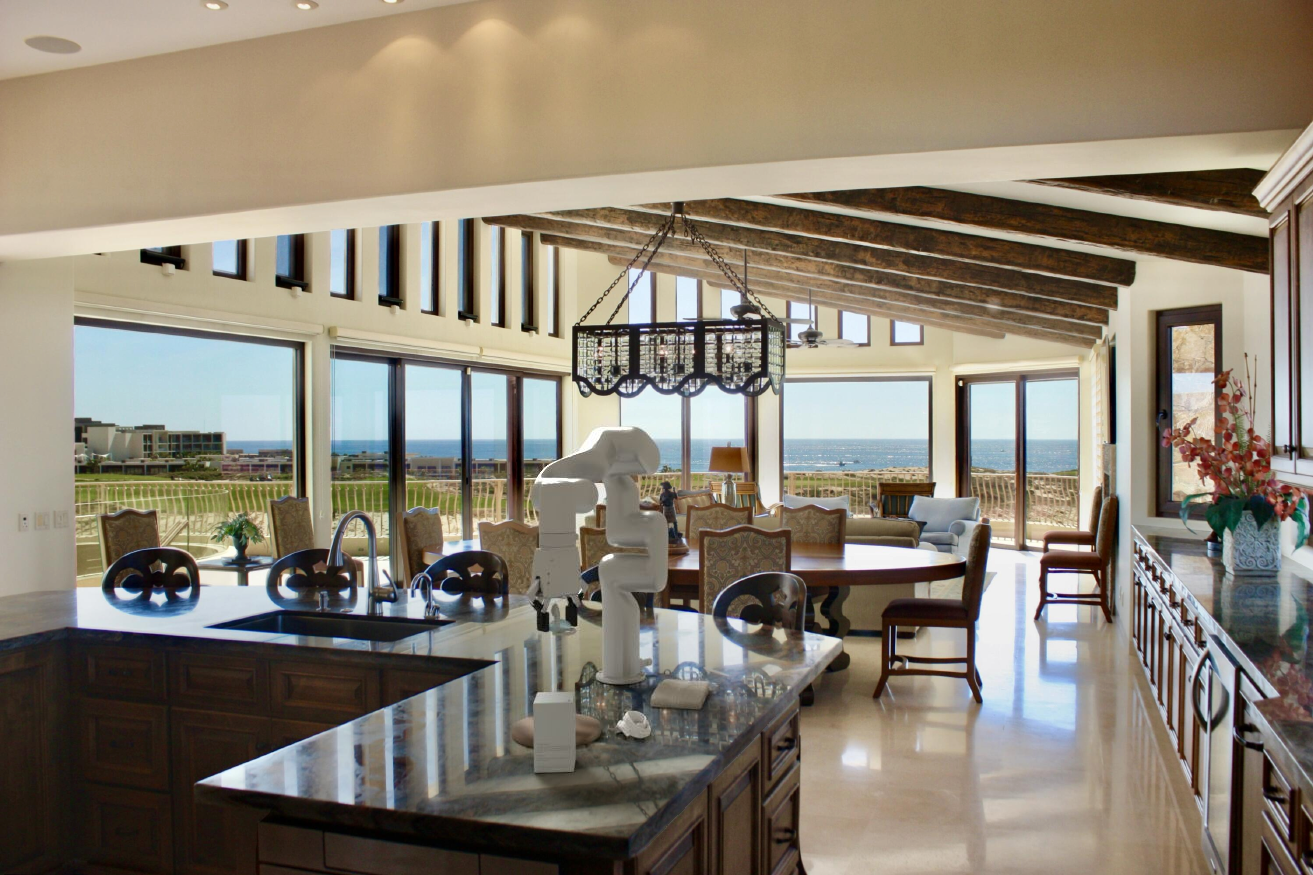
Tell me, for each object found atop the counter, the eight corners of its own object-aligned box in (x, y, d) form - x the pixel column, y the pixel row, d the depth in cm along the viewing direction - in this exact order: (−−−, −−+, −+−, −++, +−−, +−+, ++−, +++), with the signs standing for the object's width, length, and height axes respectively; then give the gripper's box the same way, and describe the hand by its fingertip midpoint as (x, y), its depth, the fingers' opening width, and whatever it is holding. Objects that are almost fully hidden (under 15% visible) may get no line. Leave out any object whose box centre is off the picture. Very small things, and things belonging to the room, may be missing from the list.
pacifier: (579, 631, 183) (550, 629, 184) (580, 601, 183) (551, 599, 184) (573, 638, 176) (543, 637, 176) (574, 607, 176) (544, 606, 176)
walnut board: (562, 714, 192) (562, 707, 192) (619, 733, 180) (619, 725, 180) (494, 733, 179) (494, 726, 179) (550, 754, 167) (550, 746, 167)
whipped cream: (634, 730, 185) (634, 706, 185) (659, 734, 180) (659, 709, 181) (609, 737, 178) (608, 712, 179) (634, 741, 174) (633, 715, 175)
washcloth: (711, 690, 213) (711, 677, 213) (702, 712, 196) (702, 698, 196) (662, 688, 215) (662, 675, 215) (649, 709, 198) (649, 695, 198)
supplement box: (576, 758, 165) (576, 690, 165) (574, 772, 157) (574, 702, 158) (536, 758, 165) (537, 691, 165) (532, 773, 157) (532, 702, 157)
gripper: (577, 536, 189) (577, 619, 189) (511, 542, 176) (511, 632, 176) (601, 539, 184) (601, 624, 183) (535, 545, 171) (535, 637, 171)
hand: (557, 627), depth 180 cm, fingers closed on pacifier, 6 cm apart
